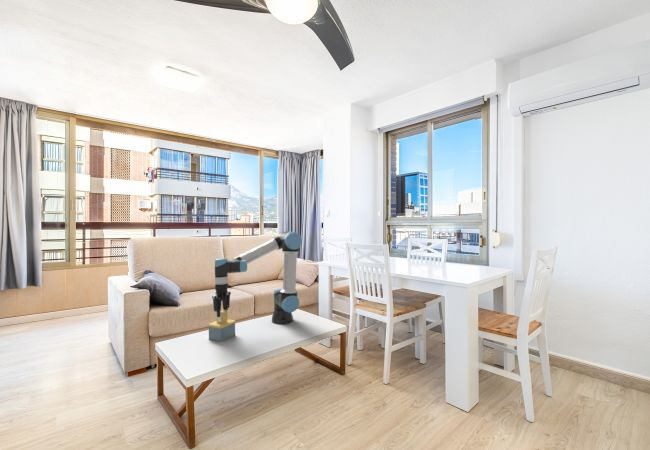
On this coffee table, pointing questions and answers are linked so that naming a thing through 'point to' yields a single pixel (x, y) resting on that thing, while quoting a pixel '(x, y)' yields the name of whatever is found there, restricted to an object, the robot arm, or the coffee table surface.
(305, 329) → the coffee table surface
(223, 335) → the box
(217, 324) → the lid
